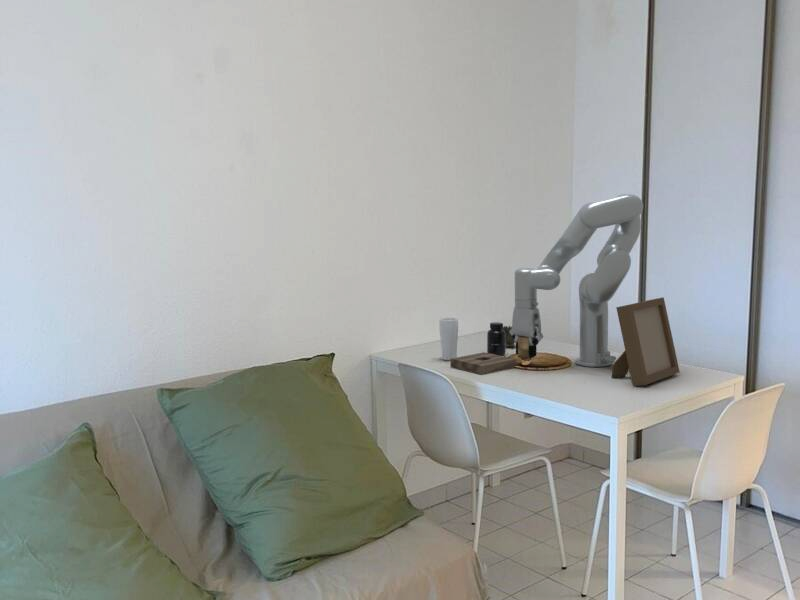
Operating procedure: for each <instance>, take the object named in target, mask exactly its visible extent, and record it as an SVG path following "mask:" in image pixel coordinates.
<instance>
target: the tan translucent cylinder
mask: <svg viewBox="0 0 800 600" xmlns="http://www.w3.org/2000/svg"><path fill="white" fill-rule="evenodd" d="M532 340H533V338H532ZM529 346H530V342H529V338H528V337H524V336H518V354H517V357H518V358H519V359H520V360H524V361H530V360H531V361H532V359H533V358H535V356H534V357H529Z"/></svg>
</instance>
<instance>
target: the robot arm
mask: <svg viewBox="0 0 800 600" xmlns="http://www.w3.org/2000/svg"><path fill="white" fill-rule="evenodd" d="M643 209H644V203H643V201H642V199H641V198H640V197H639V196H637V195H635V194H632V193H631V194H630V193H629V194H623V193H622V194H620V195H617V196H616V197H614V198H610V199H607V200H602V201H598V202H597V201H596V202H587V203H585V204H583V205H582V206H581V207H580V209H579V210H578V211H577V213H576V214H575V216H574V217H573V219H572V220H571V222H570V224H569V225H568V226H567V228H566V229H565V230H564V232H563V234H562V235H561V237H559V239H558V240H557V241H556V243H555V244H554V246H552V248H551V249H550V251H549V252H548V253H547V255H546V256H545V257H544V259H543V260H542V262H541V263H540V264H539V266H538V267H537V269H534V268H530V267H529V268H527V267H526V268H525V267H524V268H523V267H522V268H517V269H516V270H515V271H514V307H513V312H512V319H511V320H512V321H511V323H512V324H511V327H512V328H511V330H510V331H509V332H510V334H511V335H512V337H513V339H514V342H515V343H514V344H515V354H516V355H518V336H524V337H528V338H529V342H530V346H529V357H534V358H535V357H536V356H537V345H538V344H539V342H541V341H542V339H543V338H544V335H543V333H542V321H541V320H542V319H541V313H540V309H539V308H538V305H539V302H538V301H537V298H538V294H537V291H538V290H543V291H544V290H545V291H552V290H554V289H556V288H558V286H559V285H560V283H561V276H560V274H561V272H562V271H563V269H564V268H565V267H566V265H567V264H568V263H569V261H571V260H572V259H574V257H576V256H578V255H579V254H580V253H581V252H582V251H583V250H584V248H585V247H586V246H587V244H588V242H589V241H590V239H591V238H592V236H593V235H594V233H595V232H596V231H597V229H600V228H606V227H609V226H614V229H613V230H612V232H611V234H610V236H609V237H608V239H607V241H606V242H605V243H604V245H603V247H602V248H601V250H600V252H599V253H598V255H597V257H596V265H597V267H596V269H595V270H594V272H590V273H586V274H585V275H584V276H583V277H582V278H581V279H580V281H579V285H578V300H579V301H578V302H579V357H577V358H575V359H574V363H575V364H576V365H578V366H582V367H590V368H591V367H592V368H600V367H608V366H612V365H613V364H614V363H615V361H616V360H617V357H616V356H615V355H614V356H613V355H611V351H610V350H608V349H609V347H608V345H609V344H608V343H609V304H608V303H609V301H610V300H611V299H612V298H614V295H615V294H616V293H617V291H618V290H619V288H620V286H621V285H622V283H623V281H624V279H625V278H626V276H627V274H628V273H629V271H630V268H631V263H632V258H631V256H630V253H631V252H632V250H633V248H634V246H635V245H636V242H637V241H638V238H639V237H640V234H641V233H640V232H641V228H642V220H641V215H642V212H643ZM532 338H533V340H532Z"/></svg>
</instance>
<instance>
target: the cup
mask: <svg viewBox="0 0 800 600" xmlns="http://www.w3.org/2000/svg"><path fill="white" fill-rule="evenodd" d="M511 328H512V325H509V326H507V325H503V329H502V330H504V331H505V333H506V348H509V349H510V348H511V347H512V348H515V347H516V343H515V342H514V339H513V337H512V335H511V334H510V332H509V331H510V330H511Z"/></svg>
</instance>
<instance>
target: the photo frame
mask: <svg viewBox="0 0 800 600" xmlns="http://www.w3.org/2000/svg"><path fill="white" fill-rule="evenodd" d="M615 309H616V313H617V317H618V318H617V319H618V322H619V327H620V332H621V337H622V340H623V346H624V347H623V348H624V351H623V352H622V353H621V354H620V356H618V357H617V358H616V360H615V361H614V362H613V363H612V365H611V366H612V368H611V379H616V378H617V379H618V378H626V375H627V373H628V371H629V374H630V375H629V376H630V378H631V384H632V387H637V386H647V385H648V384H649V385H650V384H652V383H654V382H655V383H656V382H657V381H658V382H659V381H660V380H662V379H665V378H666V379H667V378H668V377H671V376H674V375H676V374H680V372H681V371H680V368H679V367H680V366H679V364H678V363H679V362H678V358H677V353H676V349H675V343H674V339H673V334H672V330H671V325H670V320H669V314H668V311H667V308H666V302H665V297H658V298H652V299H648V300H644V301H643V300H642V301H639V302H634V303H629V304H626V305H621V306H617V307H615Z"/></svg>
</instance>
